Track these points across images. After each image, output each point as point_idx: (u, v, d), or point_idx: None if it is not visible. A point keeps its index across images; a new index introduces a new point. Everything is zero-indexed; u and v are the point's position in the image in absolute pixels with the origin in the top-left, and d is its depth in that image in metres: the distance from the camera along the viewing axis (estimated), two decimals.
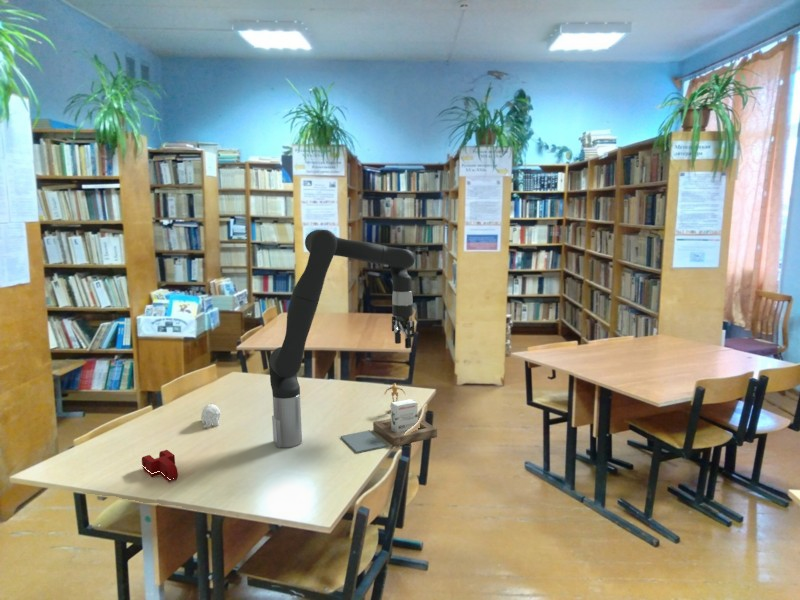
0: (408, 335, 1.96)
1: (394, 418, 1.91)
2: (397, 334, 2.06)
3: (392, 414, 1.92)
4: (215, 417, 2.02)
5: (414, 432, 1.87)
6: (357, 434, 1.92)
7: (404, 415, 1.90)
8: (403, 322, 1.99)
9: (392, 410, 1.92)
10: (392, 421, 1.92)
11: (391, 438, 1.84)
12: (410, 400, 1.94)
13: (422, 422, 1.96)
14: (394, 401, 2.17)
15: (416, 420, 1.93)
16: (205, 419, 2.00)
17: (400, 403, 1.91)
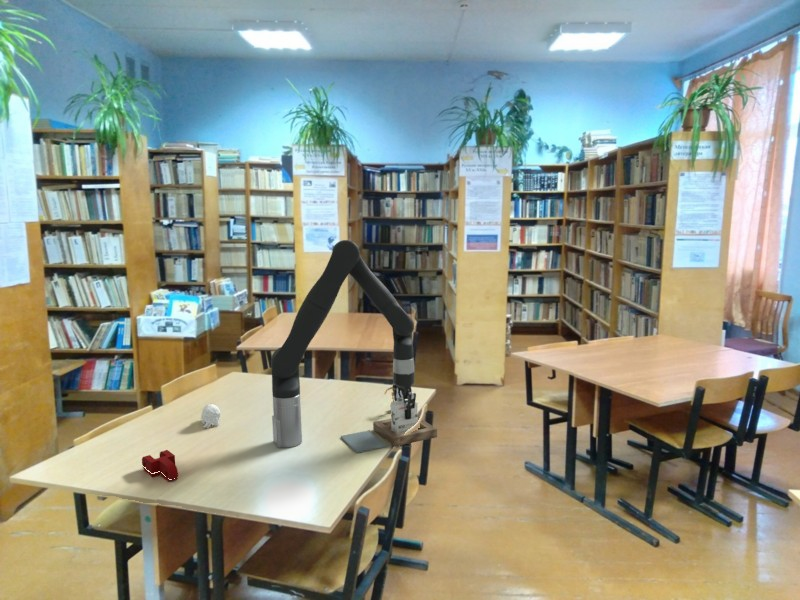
0: (408, 407, 1.87)
1: (394, 418, 1.91)
2: None
3: (392, 414, 1.92)
4: (215, 417, 2.02)
5: (414, 432, 1.87)
6: (357, 434, 1.92)
7: (404, 415, 1.90)
8: (404, 391, 1.89)
9: (392, 410, 1.92)
10: (392, 421, 1.92)
11: (391, 438, 1.84)
12: None
13: (422, 422, 1.96)
14: (394, 401, 2.17)
15: (416, 420, 1.93)
16: (205, 419, 2.00)
17: (400, 403, 1.91)
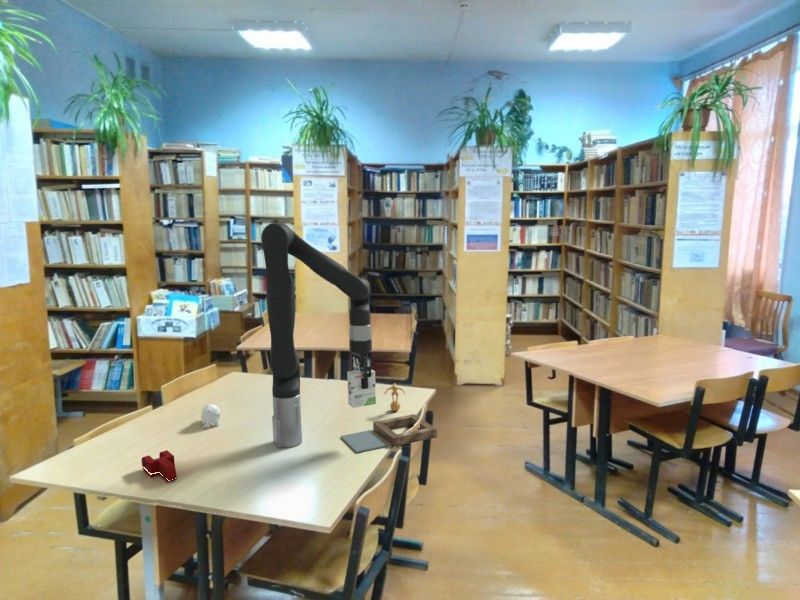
0: (364, 375, 1.78)
1: (350, 387, 1.82)
2: None
3: (348, 383, 1.83)
4: (215, 417, 2.02)
5: (414, 432, 1.87)
6: (357, 434, 1.92)
7: None
8: (361, 359, 1.80)
9: (348, 379, 1.83)
10: (349, 391, 1.84)
11: (391, 438, 1.84)
12: None
13: (422, 422, 1.96)
14: (394, 401, 2.17)
15: (374, 390, 1.84)
16: (205, 419, 2.00)
17: (357, 372, 1.82)
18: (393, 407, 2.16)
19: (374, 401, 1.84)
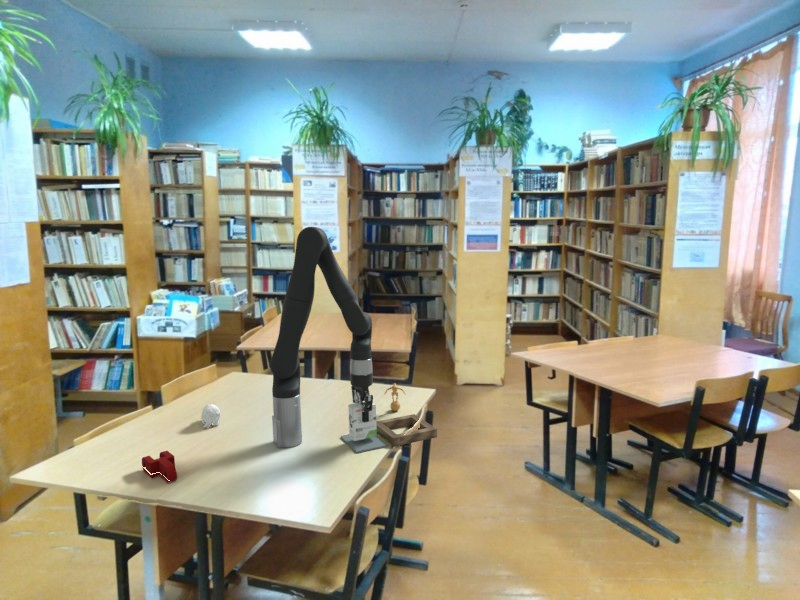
0: (365, 409, 1.80)
1: (351, 421, 1.83)
2: None
3: (349, 416, 1.85)
4: (215, 417, 2.02)
5: (414, 432, 1.87)
6: None
7: None
8: (361, 392, 1.81)
9: (349, 412, 1.84)
10: (350, 424, 1.85)
11: (391, 438, 1.84)
12: None
13: (422, 422, 1.96)
14: (394, 401, 2.17)
15: (375, 423, 1.85)
16: (205, 419, 2.00)
17: (358, 405, 1.84)
18: (393, 407, 2.16)
19: (375, 434, 1.86)
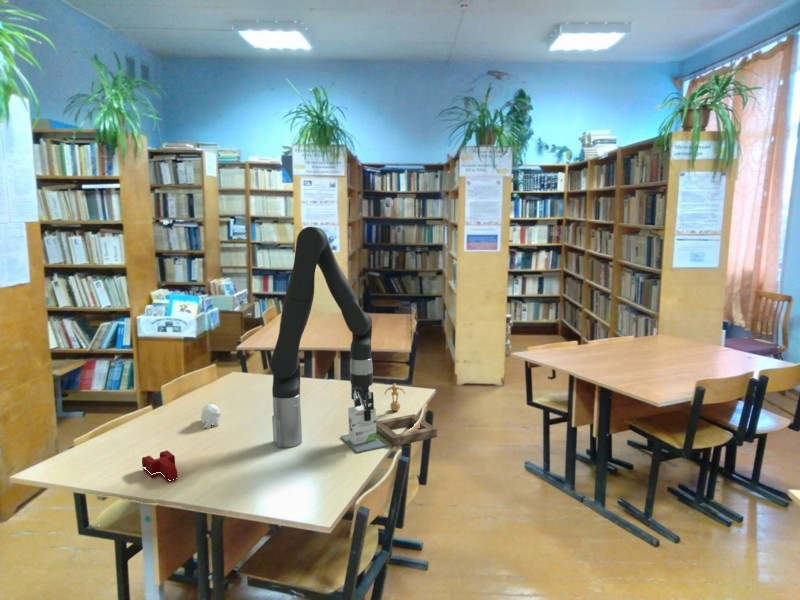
0: (366, 408, 1.78)
1: (351, 424, 1.84)
2: (357, 403, 1.89)
3: (349, 420, 1.85)
4: (215, 417, 2.02)
5: (414, 432, 1.87)
6: None
7: (362, 421, 1.83)
8: (362, 393, 1.81)
9: (349, 416, 1.85)
10: (349, 427, 1.85)
11: (391, 438, 1.84)
12: None
13: (422, 422, 1.96)
14: (394, 401, 2.17)
15: (374, 426, 1.86)
16: (205, 419, 2.00)
17: (357, 409, 1.84)
18: (393, 407, 2.16)
19: (375, 437, 1.86)
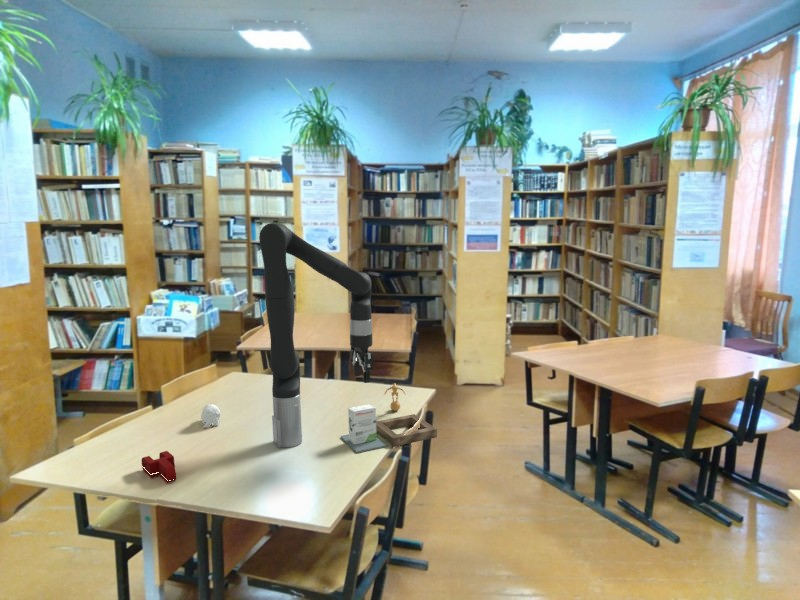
0: (366, 369, 1.76)
1: (351, 424, 1.84)
2: (356, 366, 1.87)
3: (349, 420, 1.85)
4: (215, 417, 2.02)
5: (414, 432, 1.87)
6: None
7: (362, 421, 1.83)
8: (361, 354, 1.79)
9: (349, 416, 1.85)
10: (349, 427, 1.85)
11: (391, 438, 1.84)
12: (368, 405, 1.87)
13: (422, 422, 1.96)
14: (394, 401, 2.17)
15: (374, 426, 1.86)
16: (205, 419, 2.00)
17: (357, 409, 1.84)
18: (393, 407, 2.16)
19: (375, 437, 1.86)
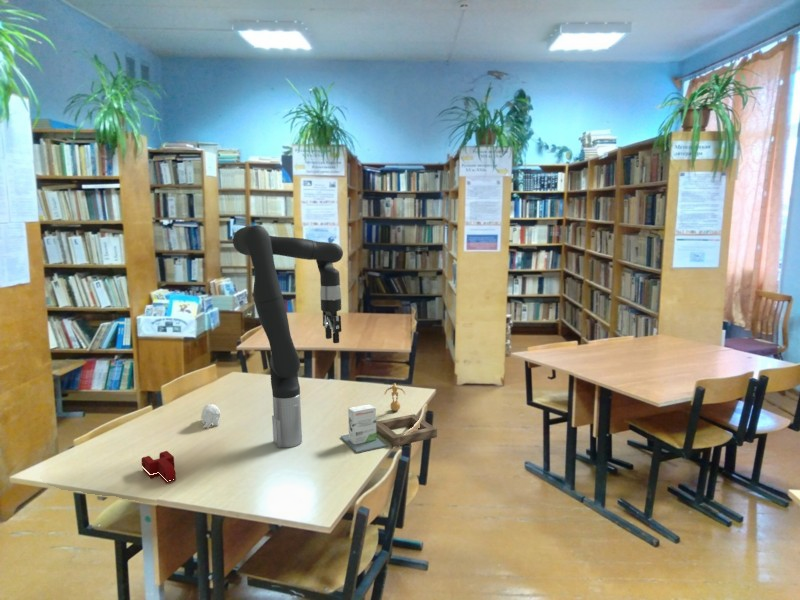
0: (334, 330, 1.94)
1: (351, 424, 1.84)
2: (327, 329, 2.04)
3: (349, 420, 1.85)
4: (215, 417, 2.02)
5: (414, 432, 1.87)
6: None
7: (362, 421, 1.83)
8: (331, 317, 1.97)
9: (349, 416, 1.85)
10: (349, 427, 1.85)
11: (391, 438, 1.84)
12: (368, 405, 1.87)
13: (422, 422, 1.96)
14: (394, 401, 2.17)
15: (374, 426, 1.86)
16: (205, 419, 2.00)
17: (357, 409, 1.84)
18: (393, 407, 2.16)
19: (375, 437, 1.86)
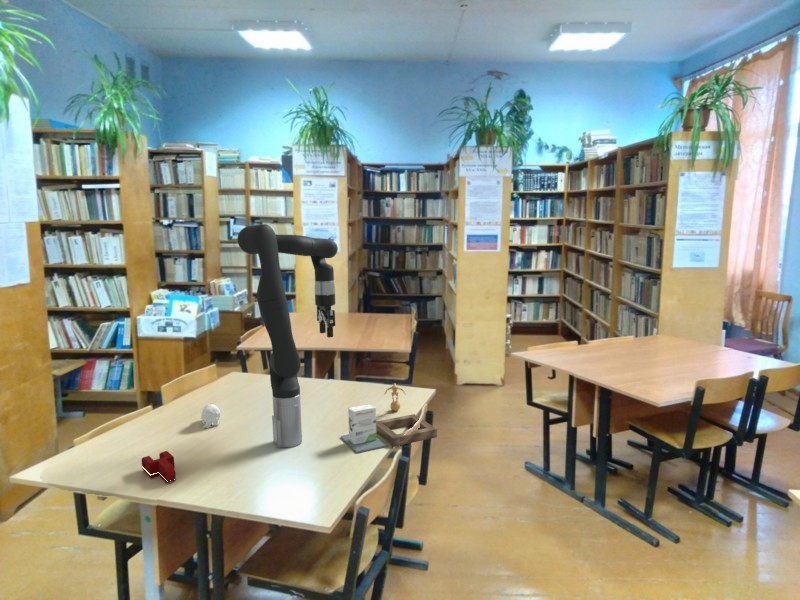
0: (328, 324, 1.98)
1: (351, 424, 1.84)
2: (322, 324, 2.08)
3: (349, 420, 1.85)
4: (215, 417, 2.02)
5: (414, 432, 1.87)
6: None
7: (362, 421, 1.83)
8: (325, 311, 2.01)
9: (349, 416, 1.85)
10: (349, 427, 1.85)
11: (391, 438, 1.84)
12: (368, 405, 1.87)
13: (422, 422, 1.96)
14: (394, 401, 2.17)
15: (374, 426, 1.86)
16: (205, 419, 2.00)
17: (357, 409, 1.84)
18: (393, 407, 2.16)
19: (375, 437, 1.86)
